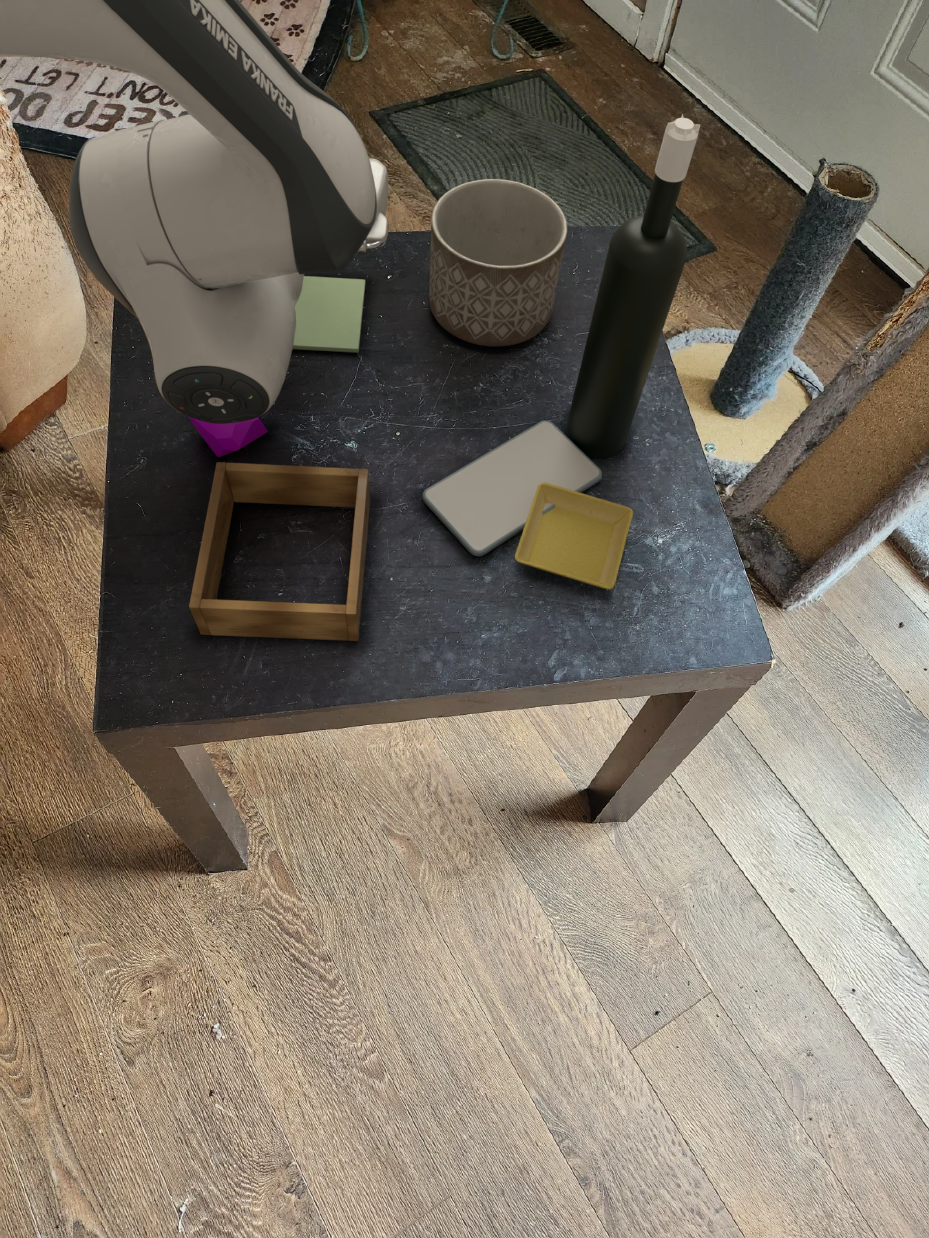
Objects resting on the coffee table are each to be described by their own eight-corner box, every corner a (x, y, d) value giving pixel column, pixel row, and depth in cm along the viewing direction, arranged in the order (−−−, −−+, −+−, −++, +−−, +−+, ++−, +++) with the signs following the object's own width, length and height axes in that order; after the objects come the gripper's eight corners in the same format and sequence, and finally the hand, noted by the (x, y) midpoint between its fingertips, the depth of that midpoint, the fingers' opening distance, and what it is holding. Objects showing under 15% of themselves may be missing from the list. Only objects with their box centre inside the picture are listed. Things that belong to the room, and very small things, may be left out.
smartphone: (418, 492, 77) (547, 416, 82) (418, 498, 78) (545, 423, 82) (476, 556, 74) (606, 473, 79) (476, 562, 75) (604, 480, 80)
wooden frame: (200, 635, 70) (188, 607, 66) (226, 494, 76) (216, 461, 73) (358, 641, 70) (356, 614, 66) (370, 501, 77) (368, 469, 73)
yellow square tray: (607, 602, 73) (613, 590, 72) (509, 572, 74) (513, 559, 72) (629, 522, 77) (634, 508, 76) (535, 494, 78) (539, 480, 76)
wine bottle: (628, 460, 81) (734, 153, 55) (567, 457, 81) (644, 148, 55) (623, 413, 84) (721, 100, 58) (563, 410, 84) (636, 95, 57)
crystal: (236, 470, 78) (227, 436, 74) (188, 444, 79) (177, 409, 75) (272, 434, 80) (265, 398, 76) (225, 409, 81) (216, 372, 77)
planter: (448, 257, 93) (453, 166, 84) (562, 285, 92) (580, 196, 83) (413, 337, 87) (414, 248, 78) (535, 368, 86) (550, 281, 77)
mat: (214, 345, 85) (213, 341, 85) (229, 275, 90) (228, 271, 89) (358, 353, 86) (358, 349, 85) (365, 283, 91) (365, 279, 90)
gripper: (385, 216, 63) (395, 106, 70) (99, 199, 62) (138, 89, 69) (387, 287, 69) (396, 178, 76) (124, 272, 68) (157, 163, 75)
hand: (270, 135), depth 72 cm, fingers closed on ink box, 6 cm apart
